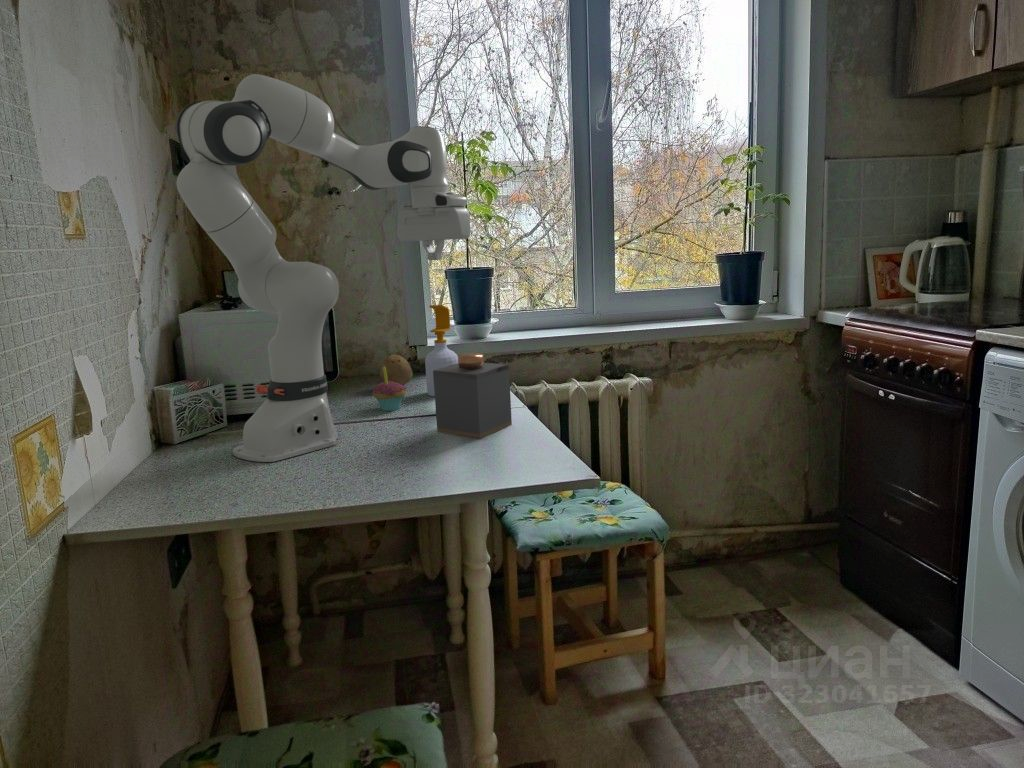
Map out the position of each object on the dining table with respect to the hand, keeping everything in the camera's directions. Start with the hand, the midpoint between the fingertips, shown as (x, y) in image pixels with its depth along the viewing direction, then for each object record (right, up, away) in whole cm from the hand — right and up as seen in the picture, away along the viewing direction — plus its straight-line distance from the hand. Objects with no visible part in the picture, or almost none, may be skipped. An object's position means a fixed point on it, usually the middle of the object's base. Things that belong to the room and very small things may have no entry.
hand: (434, 260), depth 169 cm
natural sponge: (-15, -31, +35) cm, 49 cm away
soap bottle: (0, -33, +26) cm, 42 cm away
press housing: (+10, -40, -9) cm, 42 cm away
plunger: (+10, -38, -10) cm, 40 cm away
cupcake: (-13, -36, +12) cm, 40 cm away
